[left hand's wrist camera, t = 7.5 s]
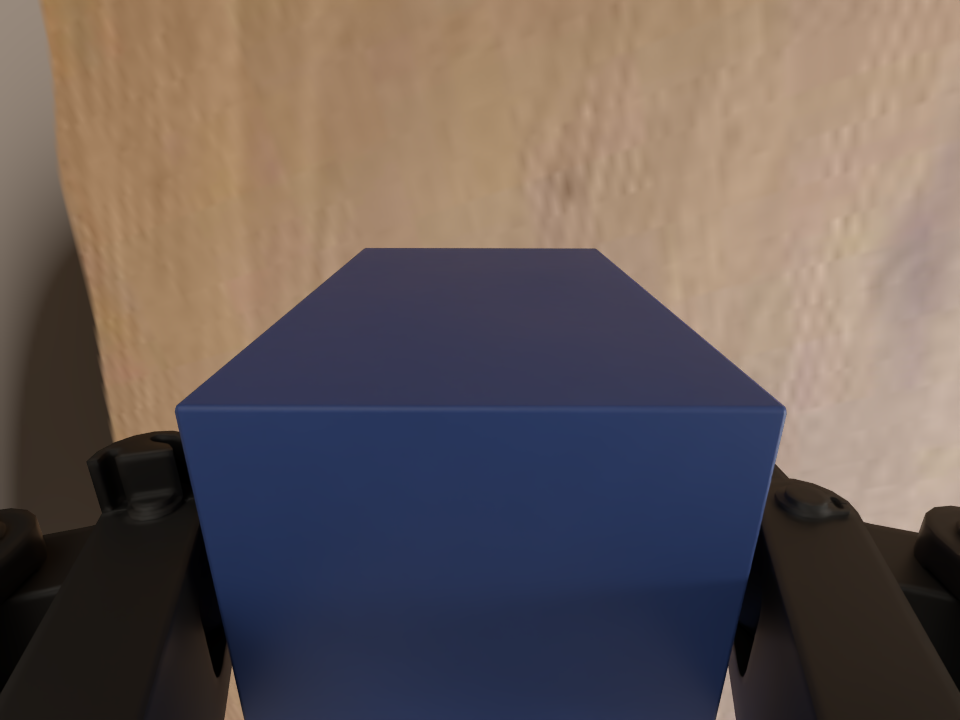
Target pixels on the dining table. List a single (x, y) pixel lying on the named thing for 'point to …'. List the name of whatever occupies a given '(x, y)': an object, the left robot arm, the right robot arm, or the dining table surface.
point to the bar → (480, 495)
